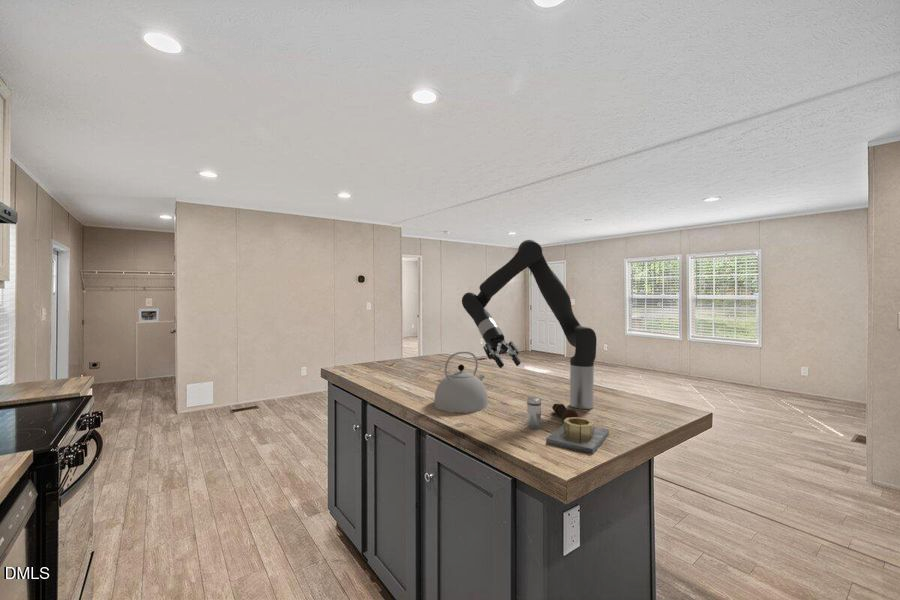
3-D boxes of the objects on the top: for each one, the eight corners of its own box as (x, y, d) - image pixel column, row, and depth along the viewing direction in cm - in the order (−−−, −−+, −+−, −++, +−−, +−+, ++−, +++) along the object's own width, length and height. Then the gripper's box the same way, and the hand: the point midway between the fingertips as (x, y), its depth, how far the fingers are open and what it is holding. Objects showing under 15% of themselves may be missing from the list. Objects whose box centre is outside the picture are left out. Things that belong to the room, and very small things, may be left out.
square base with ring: (567, 425, 136) (567, 410, 136) (608, 434, 128) (608, 417, 128) (546, 443, 120) (546, 425, 120) (592, 454, 112) (592, 435, 112)
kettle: (467, 394, 180) (467, 346, 180) (503, 405, 162) (503, 351, 162) (423, 403, 164) (423, 351, 164) (457, 416, 147) (458, 357, 146)
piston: (530, 424, 138) (530, 396, 138) (542, 426, 135) (543, 398, 135) (524, 427, 134) (525, 399, 134) (537, 430, 131) (537, 401, 131)
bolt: (557, 416, 153) (573, 428, 138) (547, 410, 153) (561, 421, 138) (564, 403, 153) (581, 413, 138) (554, 397, 153) (569, 407, 138)
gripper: (481, 326, 147) (501, 361, 138) (508, 325, 155) (529, 358, 146) (472, 339, 151) (491, 373, 142) (499, 337, 160) (519, 369, 150)
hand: (510, 365), depth 144 cm, fingers open, 8 cm apart
